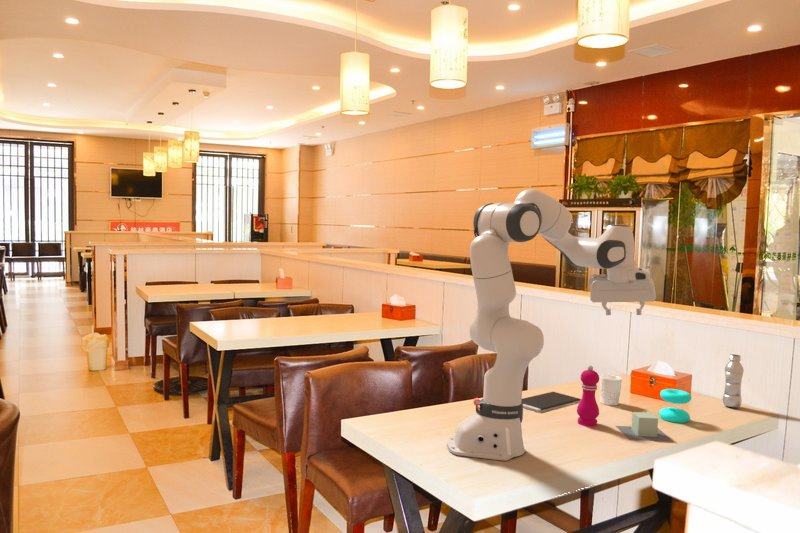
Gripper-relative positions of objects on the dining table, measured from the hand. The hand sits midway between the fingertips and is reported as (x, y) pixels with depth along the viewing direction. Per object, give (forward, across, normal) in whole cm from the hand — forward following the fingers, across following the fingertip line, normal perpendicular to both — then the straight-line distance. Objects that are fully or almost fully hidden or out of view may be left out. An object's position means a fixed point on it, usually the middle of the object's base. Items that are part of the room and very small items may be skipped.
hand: (623, 314), depth 203 cm
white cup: (+42, -8, +25) cm, 49 cm away
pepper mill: (+36, -13, -6) cm, 39 cm away
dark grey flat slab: (+38, -30, +14) cm, 51 cm away
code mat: (+38, +5, -8) cm, 39 cm away
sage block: (+37, +5, -8) cm, 39 cm away
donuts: (+42, +14, +14) cm, 47 cm away
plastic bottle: (+49, +34, +43) cm, 74 cm away
